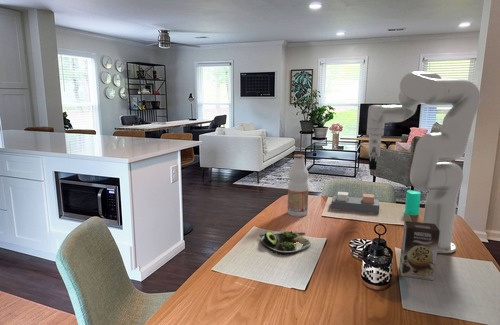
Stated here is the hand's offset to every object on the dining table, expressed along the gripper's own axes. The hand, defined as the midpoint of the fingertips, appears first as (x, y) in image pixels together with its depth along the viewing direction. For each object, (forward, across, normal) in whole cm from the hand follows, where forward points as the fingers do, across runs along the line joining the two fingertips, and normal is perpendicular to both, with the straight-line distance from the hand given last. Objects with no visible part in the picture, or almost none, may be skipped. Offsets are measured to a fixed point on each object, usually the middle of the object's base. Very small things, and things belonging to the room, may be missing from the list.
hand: (372, 167), depth 160 cm
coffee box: (+21, -59, -15) cm, 64 cm away
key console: (+21, -1, +7) cm, 22 cm away
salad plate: (+21, -53, +30) cm, 64 cm away
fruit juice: (+21, -18, +32) cm, 42 cm away
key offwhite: (+18, -1, +13) cm, 22 cm away
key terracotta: (+17, -1, +1) cm, 17 cm away
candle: (+21, 0, -19) cm, 28 cm away
